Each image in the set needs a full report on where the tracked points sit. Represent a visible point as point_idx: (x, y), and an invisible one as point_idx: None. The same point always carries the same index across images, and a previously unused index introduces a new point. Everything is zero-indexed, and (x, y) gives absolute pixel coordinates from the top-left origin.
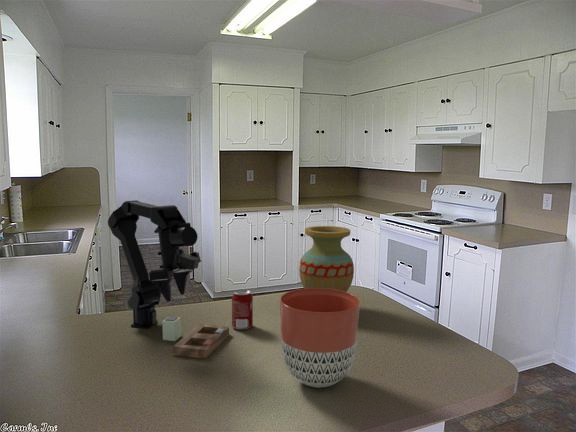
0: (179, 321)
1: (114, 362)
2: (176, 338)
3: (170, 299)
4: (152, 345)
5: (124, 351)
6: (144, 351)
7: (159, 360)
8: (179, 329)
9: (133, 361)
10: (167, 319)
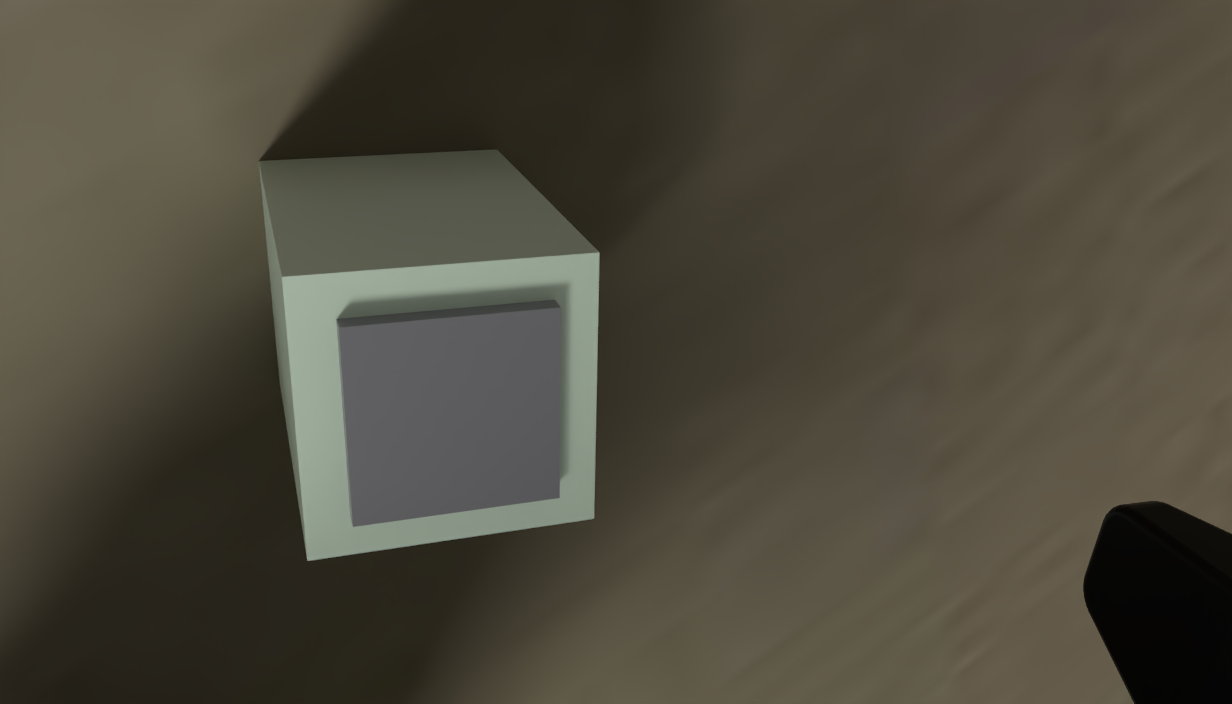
0: (339, 247)
1: (1184, 480)
2: (442, 158)
3: (1178, 525)
4: (723, 378)
5: (936, 569)
6: (910, 361)
7: (1133, 21)
8: (324, 198)
9: (1162, 313)
10: (545, 456)
